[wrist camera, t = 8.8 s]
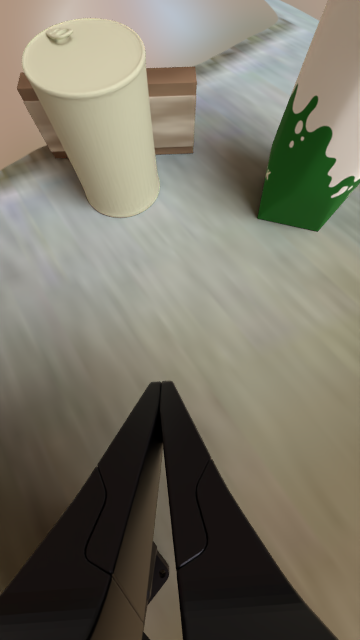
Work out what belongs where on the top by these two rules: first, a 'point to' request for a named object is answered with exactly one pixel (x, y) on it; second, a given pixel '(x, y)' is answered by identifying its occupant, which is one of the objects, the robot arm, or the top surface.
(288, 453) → the top surface
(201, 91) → the top surface
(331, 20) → the milk carton
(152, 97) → the brown box
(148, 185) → the can
